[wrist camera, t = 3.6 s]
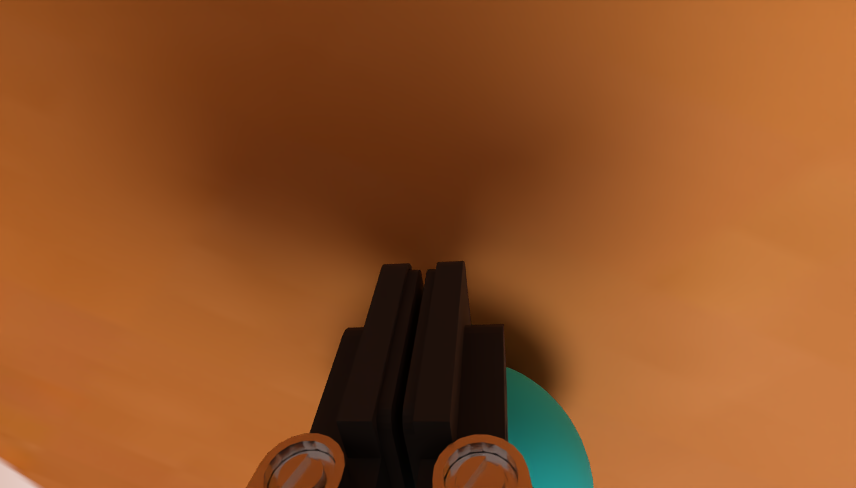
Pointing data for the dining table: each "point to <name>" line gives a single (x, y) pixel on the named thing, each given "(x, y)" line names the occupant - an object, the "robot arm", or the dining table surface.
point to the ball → (545, 436)
